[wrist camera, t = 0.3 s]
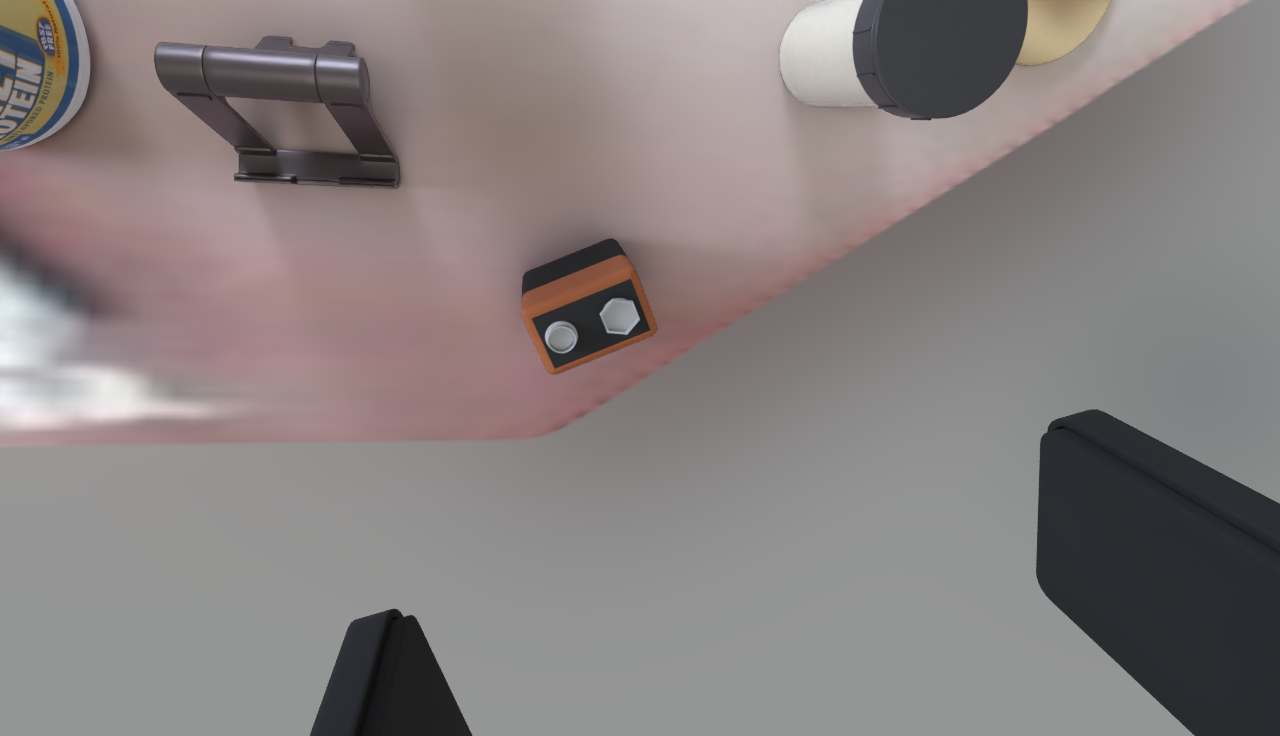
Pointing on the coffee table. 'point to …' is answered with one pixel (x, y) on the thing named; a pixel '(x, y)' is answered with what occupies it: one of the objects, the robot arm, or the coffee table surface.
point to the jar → (823, 55)
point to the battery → (585, 306)
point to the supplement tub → (40, 69)
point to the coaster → (1058, 28)
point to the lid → (936, 53)
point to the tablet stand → (291, 77)
